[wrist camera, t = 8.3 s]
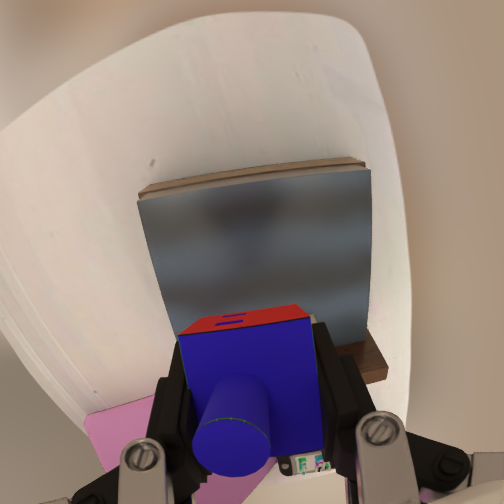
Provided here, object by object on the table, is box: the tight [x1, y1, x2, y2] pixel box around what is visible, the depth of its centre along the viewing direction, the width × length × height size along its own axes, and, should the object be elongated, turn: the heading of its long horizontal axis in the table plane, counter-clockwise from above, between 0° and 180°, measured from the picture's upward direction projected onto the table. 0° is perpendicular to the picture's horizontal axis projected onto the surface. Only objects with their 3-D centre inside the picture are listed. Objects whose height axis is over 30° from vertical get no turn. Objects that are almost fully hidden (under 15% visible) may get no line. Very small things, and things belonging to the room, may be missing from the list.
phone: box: [277, 449, 335, 476], centre depth 36 cm, size 11×15×4 cm
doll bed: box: [137, 157, 389, 385], centre depth 22 cm, size 15×16×9 cm
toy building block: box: [177, 304, 324, 478], centre depth 9 cm, size 4×4×8 cm
